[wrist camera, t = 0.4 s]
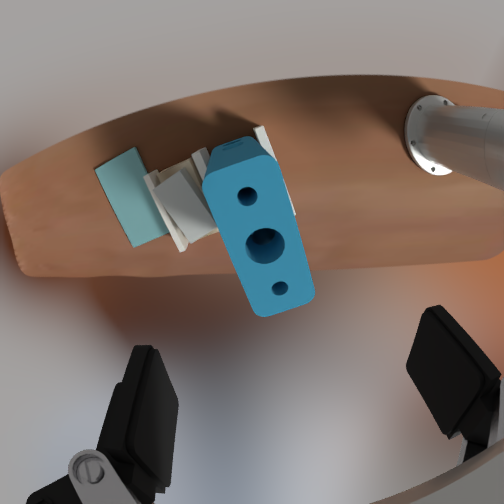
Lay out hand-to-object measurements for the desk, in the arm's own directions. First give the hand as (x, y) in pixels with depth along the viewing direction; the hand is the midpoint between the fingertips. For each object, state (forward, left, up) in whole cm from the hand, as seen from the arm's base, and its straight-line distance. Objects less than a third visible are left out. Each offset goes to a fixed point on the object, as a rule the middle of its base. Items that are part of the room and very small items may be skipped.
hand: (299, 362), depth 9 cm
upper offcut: (+9, -1, -29) cm, 30 cm away
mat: (+17, -4, -32) cm, 36 cm away
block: (+1, -1, -32) cm, 32 cm away
